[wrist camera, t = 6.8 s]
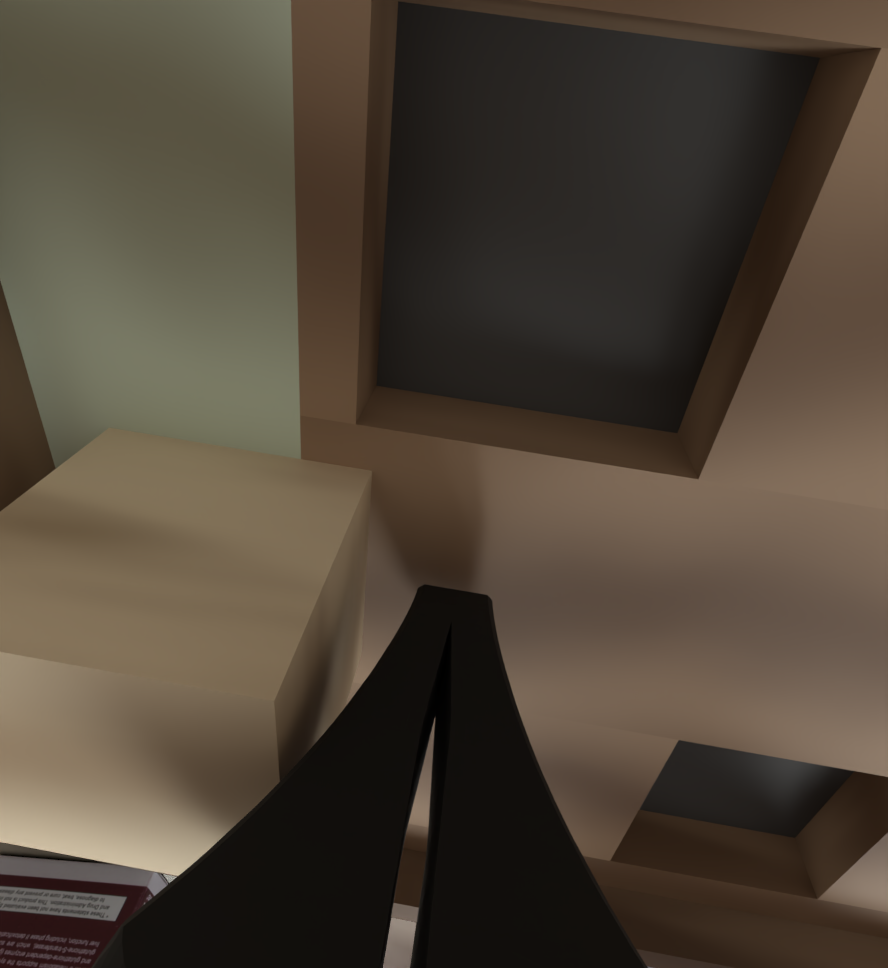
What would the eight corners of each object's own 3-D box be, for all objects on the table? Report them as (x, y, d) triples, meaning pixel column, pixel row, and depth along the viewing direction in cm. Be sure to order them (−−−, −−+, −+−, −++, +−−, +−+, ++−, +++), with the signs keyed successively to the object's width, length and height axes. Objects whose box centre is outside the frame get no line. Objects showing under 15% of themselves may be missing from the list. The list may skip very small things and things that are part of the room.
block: (361, 653, 14) (287, 897, 9) (151, 616, 14) (-13, 839, 10) (372, 470, 11) (274, 700, 7) (109, 427, 11) (-147, 624, 7)
